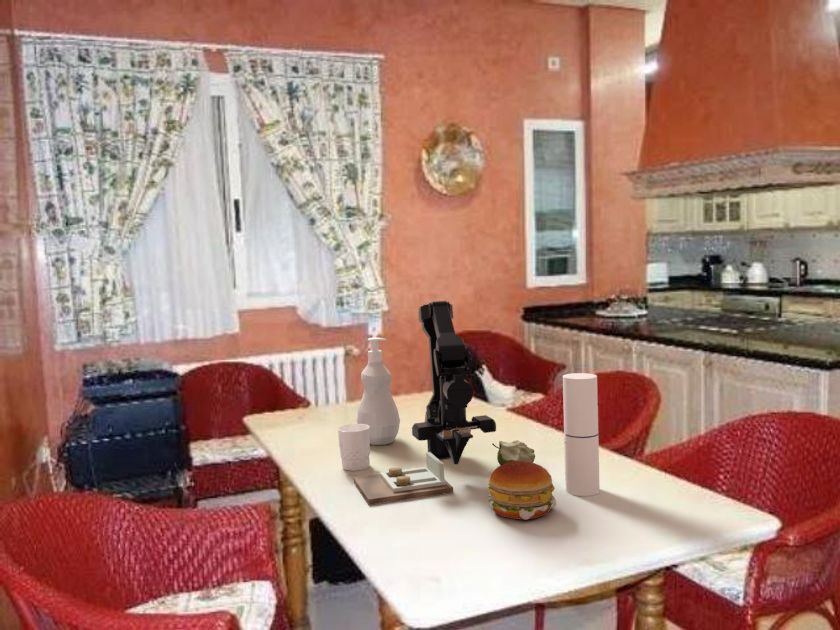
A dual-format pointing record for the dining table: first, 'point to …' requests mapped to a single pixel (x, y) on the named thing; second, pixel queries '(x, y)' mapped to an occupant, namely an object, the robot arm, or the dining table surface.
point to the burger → (521, 490)
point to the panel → (419, 475)
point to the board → (380, 492)
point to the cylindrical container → (581, 434)
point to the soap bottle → (378, 399)
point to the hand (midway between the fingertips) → (455, 464)
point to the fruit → (514, 452)
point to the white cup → (354, 446)
